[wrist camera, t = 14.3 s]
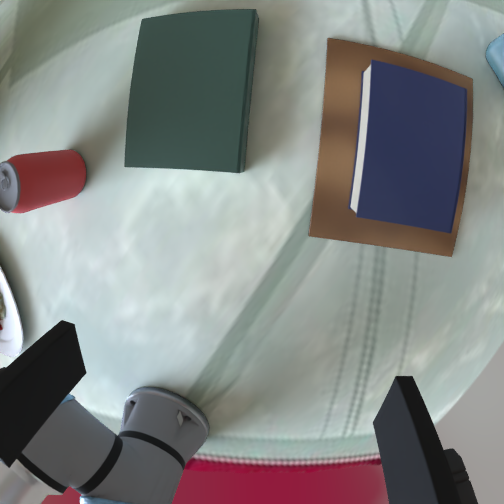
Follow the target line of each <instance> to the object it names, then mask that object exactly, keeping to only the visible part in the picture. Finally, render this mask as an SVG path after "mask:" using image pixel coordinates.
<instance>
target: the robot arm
mask: <svg viewBox="0 0 504 504" xmlns="http://www.w3.org/2000/svg"><path fill="white" fill-rule="evenodd" d="M85 374H86V369H85V366H84V362H83V358H82V354H81V350H80V346H79V342H78V338H77V333H76V329H75V324H72V323H69V322H66V321H63V320H61V321H60V322H59V323H58V324H57V325H55V326H54V327H53V328H52V329H51V330H49V331H48V332H47V333H46V334H45V335H43V336H42V337H41V338H40V339H39V340H37V341H36V342H35V343H34V344H33V345H32V346H30V347H29V348H28V349H27V350H26V351H25V352H23V353H22V354H21V355H20V356H19V357H18V358H17V359H16V360H14V361H13V362H12V363H11V364H10V365H9V366H8V367H7V368H5V367H3V368H1V369H0V504H41V503H42V501H43V500H44V499H45V497H46V496H47V495H62V494H63V493H64V491H65V490H66V489H67V488H68V487H69V486H71V487H72V488H73V489H75V490H76V491H78V492H79V493H80V494H82V496H81V497H80V504H172V501H173V498H174V495H175V493H176V490H177V487H178V484H179V481H180V478H181V476H182V473H183V470H184V467H185V465H186V463H187V462H188V460H189V459H190V458H191V457H192V456H193V455H194V454H195V453H196V452H197V451H198V449H199V448H200V447H201V446H202V445H203V444H204V442H205V441H206V439H207V435H208V432H209V424H208V421H207V419H206V417H205V416H204V414H203V413H202V412H201V411H200V410H199V409H198V408H197V407H196V406H195V405H193V404H192V403H191V402H189V401H188V400H186V399H185V398H183V397H181V396H179V395H177V394H175V393H172V392H170V391H167V390H163V389H159V388H153V387H143V388H139V389H136V390H134V391H133V392H132V393H131V394H130V396H129V397H128V399H127V400H126V402H125V406H124V411H123V418H122V424H121V431H120V433H119V435H118V436H117V435H116V434H115V433H113V432H112V431H111V430H110V429H108V428H107V427H106V426H105V425H104V424H102V423H101V422H100V421H99V420H98V419H96V418H95V417H94V416H93V415H92V414H91V413H89V412H88V411H87V410H86V409H85V408H84V407H83V406H82V405H81V404H80V403H78V402H77V401H76V400H75V399H74V398H75V397H74V396H73V395H70V394H69V393H70V392H71V390H72V389H73V388H74V387H75V386H76V384H77V383H78V382H79V381H80V380H81V379H82V377H83V376H84V375H85ZM373 425H374V429H375V434H376V438H377V443H378V447H379V452H380V457H381V462H382V466H383V472H384V477H385V482H386V488H387V493H388V499H389V504H478V502H477V499H476V496H475V493H474V490H473V487H472V485H471V482H470V481H469V476H468V474H467V472H466V471H465V470H466V468H465V466H464V463H463V461H462V458H461V457H460V456H459V455H458V453H457V452H456V451H455V450H454V449H447V450H443V447H442V445H441V442H440V440H439V437H438V434H437V432H436V430H435V427H434V424H433V422H432V420H431V417H430V415H429V412H428V410H427V408H426V405H425V403H424V401H423V399H422V396H421V394H420V392H419V389H418V387H417V385H416V383H415V381H414V378H413V376H396V377H395V379H394V381H393V383H392V385H391V388H390V390H389V392H388V394H387V396H386V398H385V400H384V402H383V404H382V406H381V408H380V410H379V412H378V414H377V416H376V418H375V419H374V421H373Z"/></svg>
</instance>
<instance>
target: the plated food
mask: <svg viewBox="0 0 504 504" xmlns="http://www.w3.org/2000/svg"><path fill="white" fill-rule="evenodd" d="M22 348H23V328H22V323H21V318H20V315H19V311H18V308H17V304H16V302H15V299H14V296H13V294H12V291H11V288H10V286H9V284H8V281H7V279H6V277H5V274H4V272H3V270H2V269H1V267H0V353H2V354H4V355H7V356H10V357H12V356H16V355H18V354H19V353H20V352H21V350H22Z"/></svg>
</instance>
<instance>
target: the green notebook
mask: <svg viewBox="0 0 504 504" xmlns="http://www.w3.org/2000/svg"><path fill="white" fill-rule="evenodd" d="M258 23H259V18H258V14H257V11H256V9H234V10H211V11H197V12H187V13H178V14H170V15H163V16H157V17H151V18H145V19H142V21H141V26H140V31H139V36H138V42H137V47H136V53H135V60H134V66H133V73H132V80H131V88H130V97H129V107H128V117H127V130H126V145H125V167H140V168H170V169H189V170H206V171H220V172H232V173H242V172H244V168H245V157H246V146H247V135H248V124H249V113H250V102H251V92H252V82H253V71H254V61H255V52H256V42H257V32H258Z"/></svg>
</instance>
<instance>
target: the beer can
mask: <svg viewBox="0 0 504 504" xmlns="http://www.w3.org/2000/svg"><path fill="white" fill-rule="evenodd" d="M85 180H86V167H85V163H84V161H83V159H82V157H81V156H80V155H79V154H78V153H77V152H76V151H73V150H60V151H48V152H39V153H30V154H21V155H16V156H13V157H11V158H10V159H9V160H7V161H5V162H2V163H1V164H0V209H1V210H2V211H3V212H5V213H10V212H13V213H25V212H28V211H31V210H34V209H37V208H40V207H44V206H47V205H50V204H53V203H57V202H60V201H63V200H67V199H70V198H73V197H75V196H77V195H78V194H79V193H80V192H81V190H82V188H83V187H84V184H85Z"/></svg>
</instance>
